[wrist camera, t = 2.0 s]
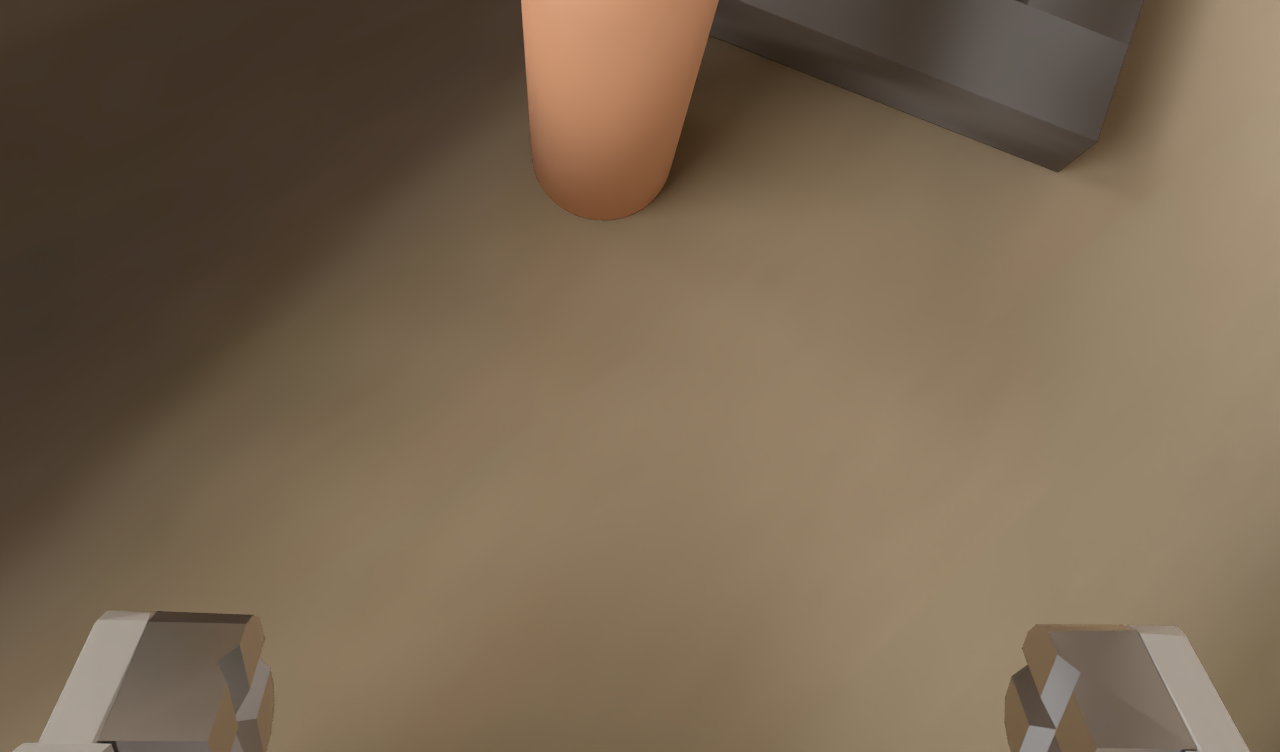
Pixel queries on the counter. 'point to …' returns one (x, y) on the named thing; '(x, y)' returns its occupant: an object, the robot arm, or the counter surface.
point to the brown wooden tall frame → (957, 61)
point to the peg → (610, 96)
